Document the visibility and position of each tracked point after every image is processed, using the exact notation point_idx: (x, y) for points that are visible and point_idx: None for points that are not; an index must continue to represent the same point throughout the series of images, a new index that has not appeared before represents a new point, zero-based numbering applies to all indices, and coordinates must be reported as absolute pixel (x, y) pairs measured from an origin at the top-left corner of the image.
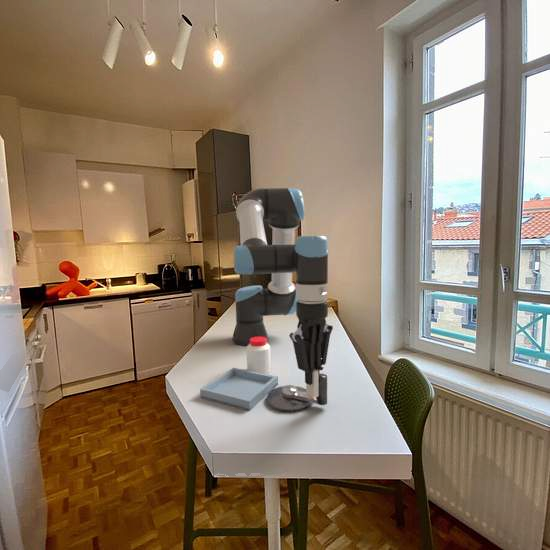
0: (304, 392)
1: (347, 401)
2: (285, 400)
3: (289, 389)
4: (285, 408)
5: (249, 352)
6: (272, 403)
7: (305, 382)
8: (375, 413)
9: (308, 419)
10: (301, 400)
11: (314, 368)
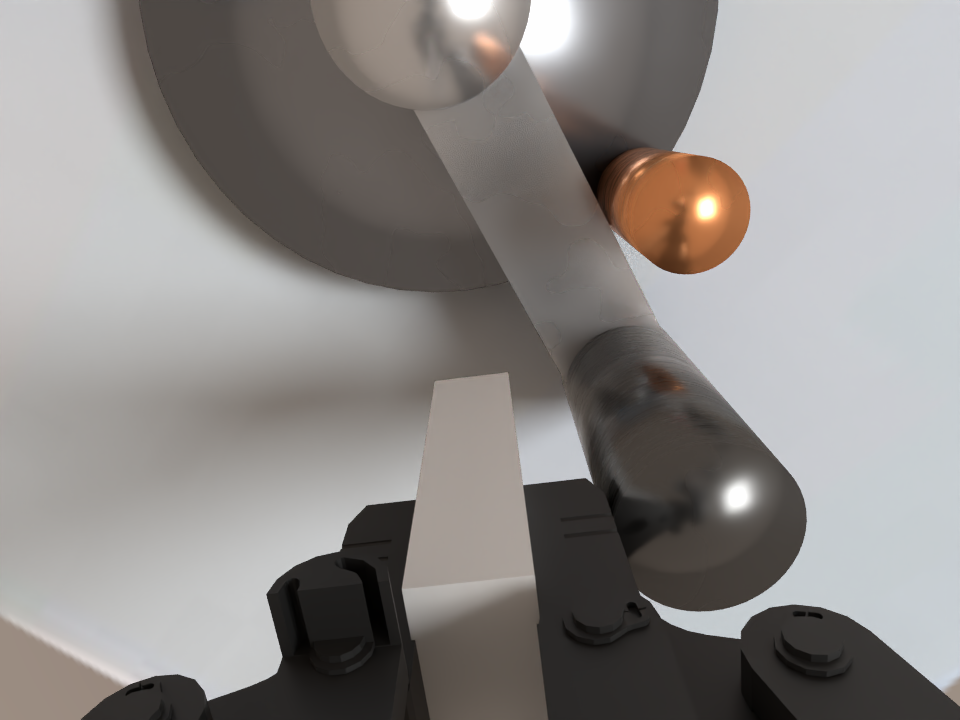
0: (568, 151)
1: (895, 402)
2: (323, 77)
3: (404, 16)
4: (245, 213)
5: None
6: (152, 39)
7: (361, 513)
8: None
9: (380, 424)
10: None
11: (542, 697)
